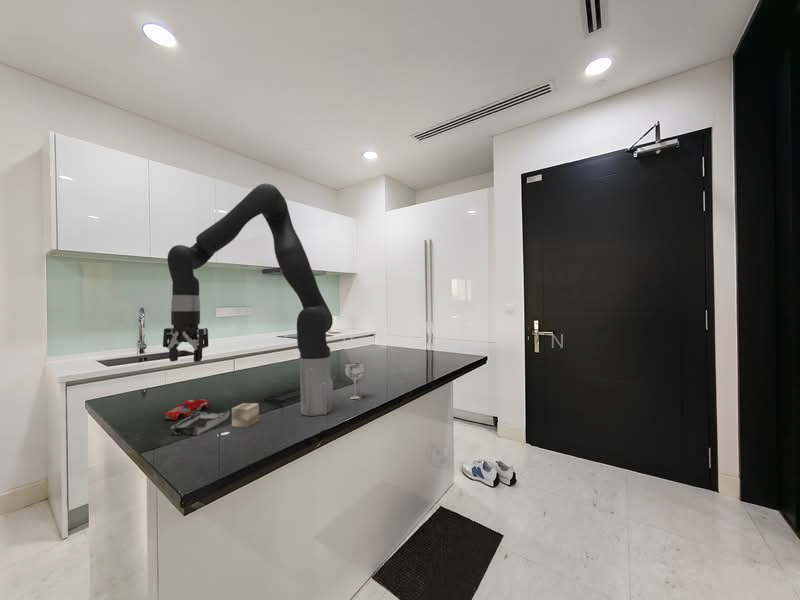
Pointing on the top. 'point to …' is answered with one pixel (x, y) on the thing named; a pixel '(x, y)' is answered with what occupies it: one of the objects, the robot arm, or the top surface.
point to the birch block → (245, 414)
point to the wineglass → (354, 374)
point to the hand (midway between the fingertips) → (185, 361)
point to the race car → (187, 409)
